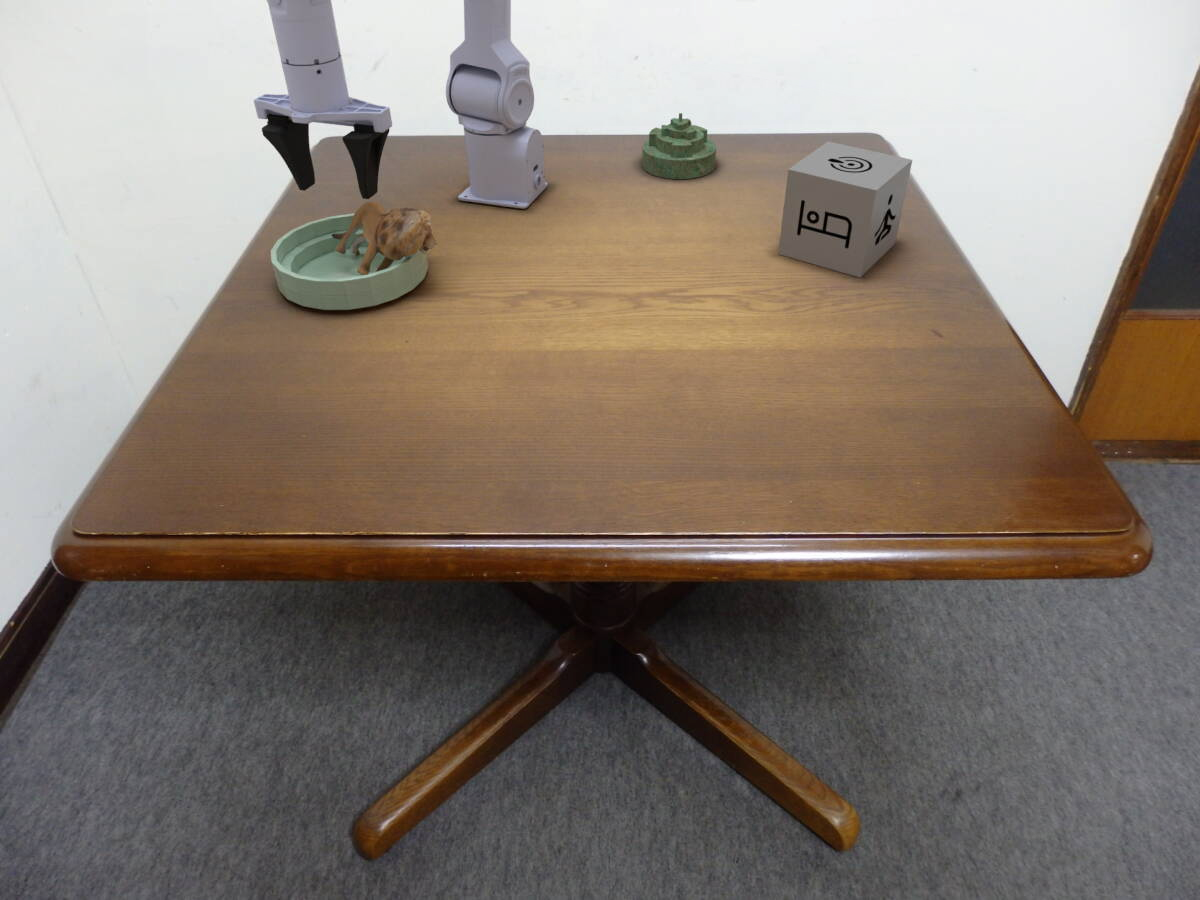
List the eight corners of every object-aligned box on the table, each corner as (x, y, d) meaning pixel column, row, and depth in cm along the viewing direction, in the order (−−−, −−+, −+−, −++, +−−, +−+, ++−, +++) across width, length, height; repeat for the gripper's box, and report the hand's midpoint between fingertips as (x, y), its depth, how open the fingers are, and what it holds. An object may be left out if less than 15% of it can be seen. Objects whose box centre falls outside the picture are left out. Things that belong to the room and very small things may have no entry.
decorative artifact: (641, 179, 122) (716, 179, 121) (642, 126, 117) (720, 126, 117) (642, 151, 130) (712, 151, 129) (643, 101, 125) (716, 101, 125)
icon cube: (778, 253, 104) (788, 169, 98) (816, 222, 111) (827, 141, 104) (860, 277, 100) (876, 190, 94) (895, 243, 106) (912, 159, 100)
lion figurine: (413, 302, 97) (452, 227, 95) (374, 288, 93) (415, 209, 91) (347, 247, 106) (382, 177, 104) (309, 232, 101) (344, 158, 99)
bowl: (452, 255, 105) (448, 223, 103) (383, 325, 93) (376, 290, 91) (330, 237, 109) (323, 205, 107) (249, 301, 97) (239, 267, 95)
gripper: (222, 63, 87) (258, 197, 96) (355, 75, 84) (380, 214, 92) (265, 42, 92) (295, 172, 101) (392, 54, 89) (412, 187, 97)
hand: (338, 191), depth 97 cm, fingers open, 7 cm apart
